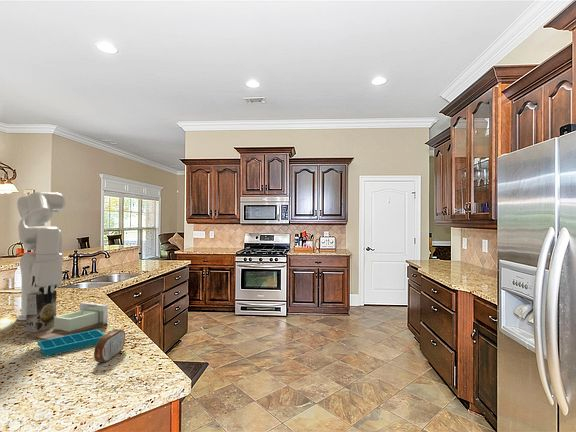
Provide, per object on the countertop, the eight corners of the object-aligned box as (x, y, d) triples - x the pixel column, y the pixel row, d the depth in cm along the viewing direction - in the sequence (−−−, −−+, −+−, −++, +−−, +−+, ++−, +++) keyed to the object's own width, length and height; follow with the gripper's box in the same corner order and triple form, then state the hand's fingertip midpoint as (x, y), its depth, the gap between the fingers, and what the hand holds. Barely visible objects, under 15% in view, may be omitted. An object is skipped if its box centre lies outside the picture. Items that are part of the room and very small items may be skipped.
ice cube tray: (36, 349, 121) (36, 341, 121) (98, 336, 135) (98, 329, 135) (42, 358, 113) (42, 349, 113) (107, 343, 127) (107, 335, 127)
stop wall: (79, 320, 154) (79, 302, 154) (83, 318, 156) (84, 301, 156) (103, 324, 148) (103, 306, 148) (107, 322, 149) (107, 305, 150)
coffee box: (37, 332, 139) (38, 294, 140) (25, 331, 141) (25, 293, 141) (56, 326, 148) (57, 290, 149) (45, 325, 150) (45, 289, 150)
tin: (118, 349, 120) (118, 325, 121) (126, 349, 120) (127, 325, 121) (92, 366, 105) (93, 340, 106) (102, 366, 105) (102, 340, 106)
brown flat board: (26, 337, 134) (26, 334, 134) (83, 321, 156) (83, 318, 156) (51, 342, 127) (51, 339, 127) (107, 324, 149) (107, 322, 149)
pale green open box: (53, 328, 141) (54, 316, 141) (83, 320, 153) (83, 309, 153) (69, 331, 137) (69, 319, 137) (98, 322, 149) (98, 311, 149)
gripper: (60, 255, 143) (60, 297, 143) (21, 259, 129) (20, 306, 129) (72, 256, 140) (71, 299, 140) (33, 260, 126) (32, 308, 126)
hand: (47, 302), depth 134 cm, fingers closed
